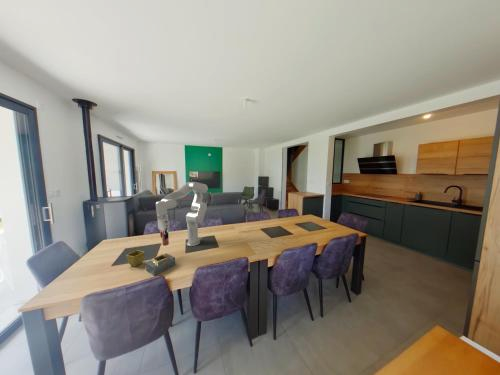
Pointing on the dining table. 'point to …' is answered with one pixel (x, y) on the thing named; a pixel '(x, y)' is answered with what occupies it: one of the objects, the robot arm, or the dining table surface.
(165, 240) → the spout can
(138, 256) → the flower pot
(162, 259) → the grey box with hole
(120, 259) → the dining table surface
